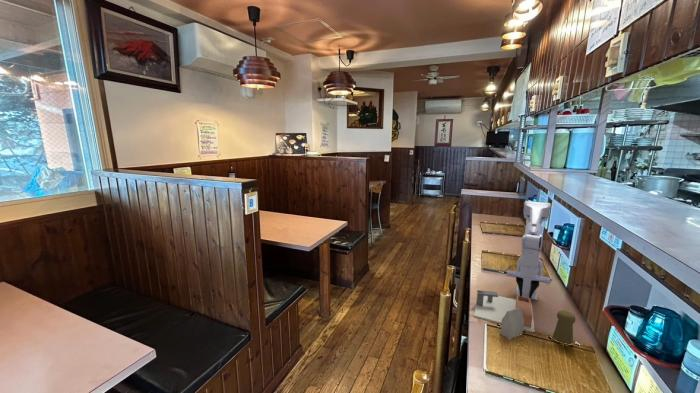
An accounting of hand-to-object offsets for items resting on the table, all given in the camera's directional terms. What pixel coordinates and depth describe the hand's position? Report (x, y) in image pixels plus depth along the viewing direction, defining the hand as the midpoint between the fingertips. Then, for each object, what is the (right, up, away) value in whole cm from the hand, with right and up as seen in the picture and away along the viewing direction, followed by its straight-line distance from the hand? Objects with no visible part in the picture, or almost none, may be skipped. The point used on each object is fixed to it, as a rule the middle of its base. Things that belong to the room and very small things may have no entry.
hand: (525, 296), depth 114 cm
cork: (+6, -12, -12) cm, 18 cm away
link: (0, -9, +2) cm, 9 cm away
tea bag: (-10, -11, -8) cm, 17 cm away
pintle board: (-5, -8, +7) cm, 12 cm away
